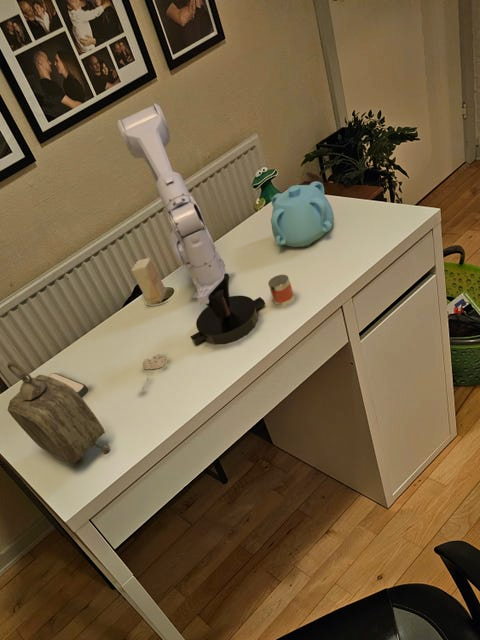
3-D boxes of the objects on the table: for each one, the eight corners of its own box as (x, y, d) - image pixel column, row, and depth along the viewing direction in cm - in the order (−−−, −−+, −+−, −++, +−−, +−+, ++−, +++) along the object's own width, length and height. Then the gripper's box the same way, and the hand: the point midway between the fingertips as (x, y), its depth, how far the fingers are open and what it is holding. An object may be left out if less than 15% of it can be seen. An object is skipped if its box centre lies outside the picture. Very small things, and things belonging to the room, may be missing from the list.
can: (277, 295, 131) (271, 275, 127) (297, 293, 129) (291, 273, 125) (272, 307, 128) (265, 287, 124) (291, 306, 126) (285, 285, 122)
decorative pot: (280, 228, 155) (266, 181, 146) (336, 214, 149) (325, 165, 140) (274, 258, 144) (258, 210, 135) (334, 244, 139) (322, 193, 130)
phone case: (30, 398, 136) (63, 415, 126) (26, 394, 135) (59, 410, 125) (56, 375, 139) (90, 389, 129) (53, 371, 138) (87, 384, 128)
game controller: (168, 355, 129) (164, 347, 127) (166, 387, 120) (161, 378, 119) (146, 362, 130) (141, 353, 128) (142, 394, 121) (137, 385, 120)
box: (162, 303, 147) (144, 267, 140) (148, 305, 149) (130, 270, 141) (167, 291, 150) (150, 256, 143) (154, 294, 152) (136, 259, 145)
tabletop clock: (119, 448, 111) (51, 355, 94) (88, 481, 107) (12, 390, 90) (78, 430, 120) (10, 342, 103) (48, 460, 116) (-28, 374, 99)
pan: (186, 335, 132) (181, 324, 130) (252, 297, 134) (248, 286, 132) (206, 360, 122) (201, 349, 120) (278, 319, 124) (274, 307, 122)
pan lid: (187, 323, 130) (178, 304, 127) (237, 292, 133) (229, 272, 129) (215, 347, 120) (206, 327, 116) (268, 312, 122) (261, 291, 119)
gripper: (195, 244, 122) (216, 295, 131) (176, 282, 113) (200, 333, 122) (224, 239, 119) (243, 291, 128) (206, 276, 110) (228, 329, 119)
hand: (224, 311), depth 125 cm, fingers open, 3 cm apart
